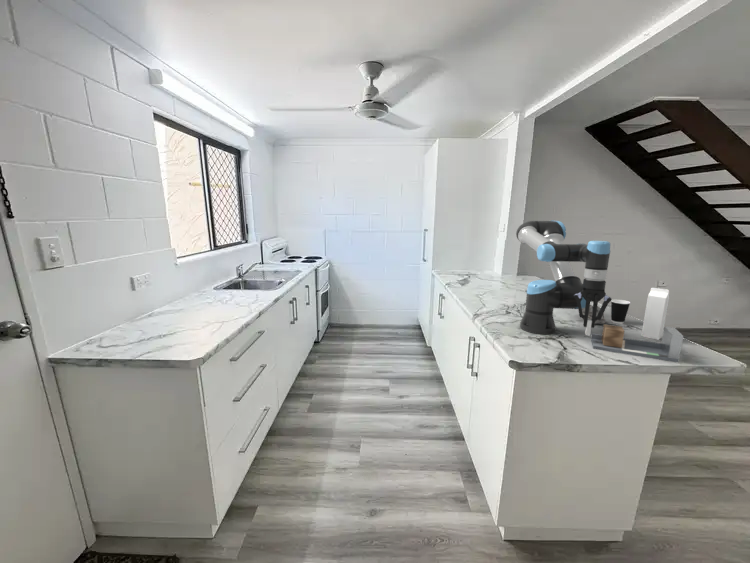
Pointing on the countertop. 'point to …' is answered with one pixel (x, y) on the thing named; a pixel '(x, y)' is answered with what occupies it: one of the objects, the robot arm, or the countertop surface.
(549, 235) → the robot arm
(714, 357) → the countertop surface
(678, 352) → the grey metal block
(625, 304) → the dixie cup
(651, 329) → the milk
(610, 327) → the block
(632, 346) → the gauge track
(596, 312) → the rock
